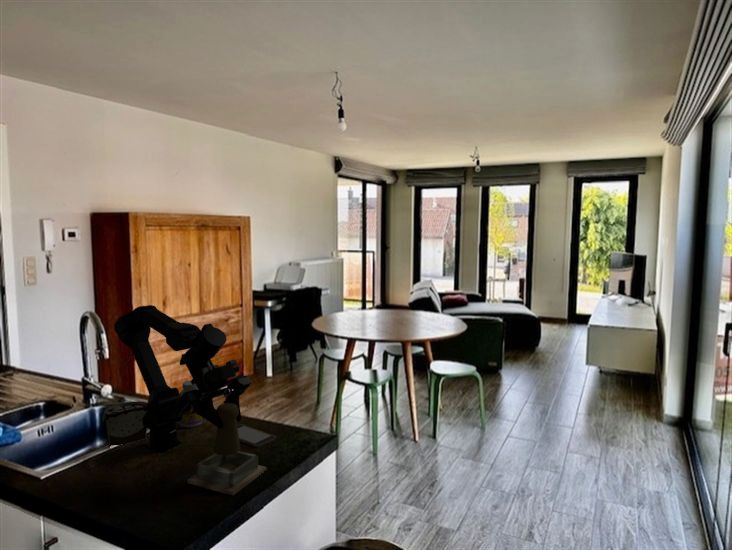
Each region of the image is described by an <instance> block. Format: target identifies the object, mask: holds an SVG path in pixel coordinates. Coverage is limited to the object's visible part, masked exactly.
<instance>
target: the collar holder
mask: <svg viewBox="0 0 732 550" xmlns="http://www.w3.org/2000/svg"><path fill="white" fill-rule="evenodd" d="M267 469H268V468H267V466H264V465H259V456H258V455H257V454H254V453H249V452H246V451H241V450H239V451H238V452H237V453H235V454H232V455H218V454H216V453H215V452H214V453H213V454H212V455H210V456H208V457H206V458H204V459H203V460H201V461H200V462H198V463H197V464H196V474H194V475H192V476H191V477H190V478H188V479H187V484H188V485H194V486H197V487H200V488H204V489H208V490H212V491H214V492H219V493H222V494H226V495H229V496H235V495H236V494H237V493H239V492H240V491H241V490H243V489H244V488H245V487H247V486H248V485H249V484H250V483H252V482H253V481H254V480H255V479H257V478H258V477H260V476H261V475H262V474H264V473H265V472H266V471H267ZM265 470H266V471H265ZM264 471H265V472H264ZM261 473H262V474H261ZM259 475H260V476H259Z"/></svg>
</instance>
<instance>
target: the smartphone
mask: <svg viewBox="0 0 732 550" xmlns="http://www.w3.org/2000/svg"><path fill="white" fill-rule="evenodd" d="M237 428H238V435H239V442H240V443H243V444H245V443H246V444H245V445H247V446H251V447H253V446H254V448H260V446H261V447H262V445H263V446H265V445H267V444H268V443H271V442H273V441H275V440H276V436H275V435H273V434H270V433H267V432H265V431H261V430H259V429H255V428H253V427H250V426H248V425H245V424H241V423H240V424H237ZM266 443H267V444H266ZM264 444H265V445H264Z"/></svg>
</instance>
